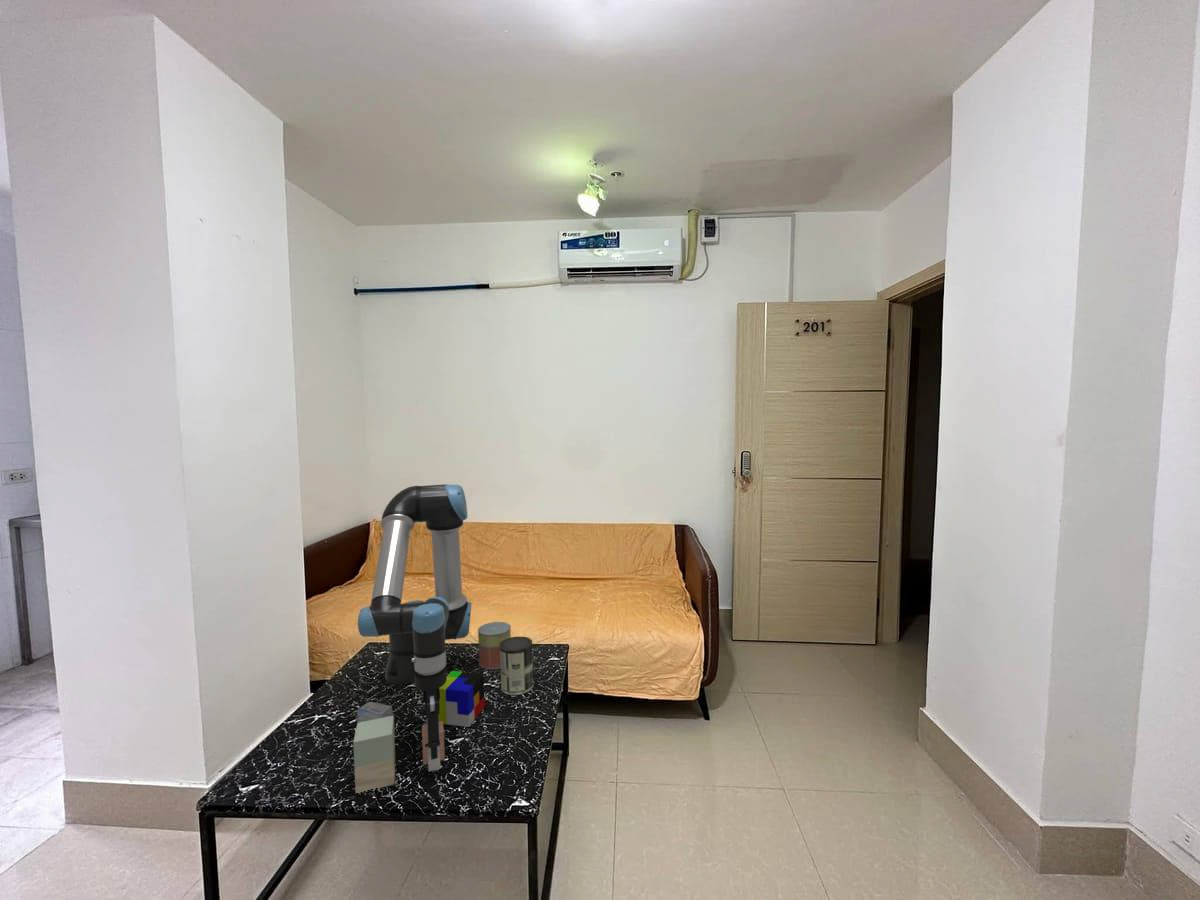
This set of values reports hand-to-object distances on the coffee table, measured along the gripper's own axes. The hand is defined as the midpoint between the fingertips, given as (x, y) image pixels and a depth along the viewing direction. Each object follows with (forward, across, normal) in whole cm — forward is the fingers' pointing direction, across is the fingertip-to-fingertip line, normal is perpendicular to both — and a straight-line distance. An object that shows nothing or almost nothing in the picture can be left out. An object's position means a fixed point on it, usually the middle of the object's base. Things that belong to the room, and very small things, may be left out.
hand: (433, 755), depth 123 cm
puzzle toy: (0, -16, +8) cm, 18 cm away
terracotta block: (0, 0, 0) cm, 0 cm away
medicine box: (0, -13, -14) cm, 19 cm away
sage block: (-6, +3, -13) cm, 14 cm away
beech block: (0, +3, -13) cm, 13 cm away
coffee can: (0, -25, +26) cm, 36 cm away
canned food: (0, -45, +22) cm, 50 cm away
